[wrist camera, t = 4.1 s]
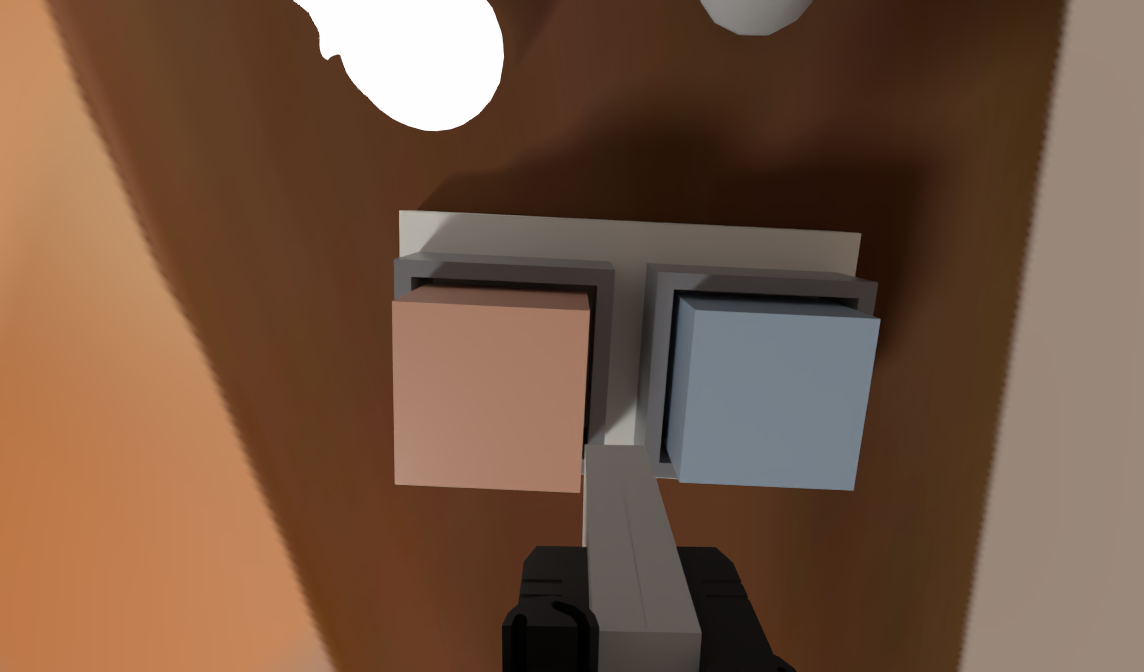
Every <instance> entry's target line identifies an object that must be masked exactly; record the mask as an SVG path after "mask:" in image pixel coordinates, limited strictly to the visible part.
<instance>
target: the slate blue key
mask: <svg viewBox="0 0 1144 672" xmlns="http://www.w3.org/2000/svg"><path fill="white" fill-rule="evenodd" d="M880 320H881V319H879V318H877V317H874V316H871V315H868V314H866V313H863V312H860V311H857V310H855V309H852V308H849V307H846V306H844V305H841V304H838V303H835V302H832V301H830V300H827V299H813V298H793V297H772V296H751V295H731V294H710V293H689V292H674V293H673V305H672V316H671V328H670V340H669V352H668V364H667V376H666V387H665V399H664V411H663V423H662V435H661V436H662V439H663V441H664V444H665V446H666V449H667V452H668V454H669V457H670V459H671V462H672V465H673V467H674V470H675V472H676V475H677V478H678V480H679V482H682V483H703V484H725V485H747V486H769V487H790V488H812V489H834V490H853V489H854V483H855V477H856V471H857V464H858V458H859V452H860V446H861V439H862V433H863V427H864V421H865V414H866V408H867V402H868V396H869V389H870V383H871V377H872V371H873V364H874V358H875V352H876V346H877V339H878V333H879V327H880Z"/></svg>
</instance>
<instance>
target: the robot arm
mask: <svg viewBox="0 0 1144 672" xmlns="http://www.w3.org/2000/svg"><path fill="white" fill-rule="evenodd" d="M502 666H503V672H796V670H795V669H794V668H793V667H792V666H790V665H789V664H788V663H786V662H785V661H784V660H782V659H781V658H780V657H778V656H776V655H774V654H773V652H772V650H771V648H770V645H769V643H768V641H767V639H766V636H765V634H764V632H763V630H762V627H761V625H760V623H759V620H758V618H757V616H756V614H755V611H754V609H753V607H752V605H751V602H750V600H748V596H747V593H746V591H745V589H744V587H743V585H741V580H740V578H739V575H738V573H737V571H736V569H735V566H734V564H733V563H732V562H731V561H730V560H729V559H728V558H727V557H726V556H725V555H724V554H722V553H721V552H720V551H719V550H718V549H717V548H716V547H676V545H675V542H674V538H673V535H672V532H671V528H670V525H669V521H668V518H667V515H666V511H665V508H664V505H663V501H662V498H661V495H660V491H659V488H658V485H657V481H656V478H655V474H654V471H653V468H652V464H651V461H650V458H649V454H648V451H647V448H646V445H592V444H585V460H584V503H583V547H562V546H536V548H535V549H534V550H533V551H532V552H531V554H530V555H529V556H528V557H527V558H526V560H525V561H524V566H523V573H522V582H521V587H520V595H519V601H518V605H517V606H516V607H514V608H513V609H512V610H511V611H510V612H509V613H508V614H507V616H506V618H505V620H504V623H503V625H502Z"/></svg>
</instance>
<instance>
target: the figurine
mask: <svg viewBox="0 0 1144 672" xmlns="http://www.w3.org/2000/svg"><path fill="white" fill-rule="evenodd" d="M294 2H296V3H298V4H299V5H300V6H301V7H303V8H304V9H305V10H306V11H308V12H309V13H310V16H311V18H312V20H313V22H314V24H315V25H316V26H317V28H318V31H319V34H320V51H321V54H322V56H323V57H324V58H326V59H327V60H328V59H329V58H330V57H331V56H333V55H336V54H339V55H341V58H342V61H343V64H344V67H345V69H346V71H347V74H348V76H349V77H350V78H351V80H352V81H353V83H354V84H355V85H356V86H357V87H358V88H359V89H360V90H361V91H362V92H363V94H365V95H366V96H368V97H369V99H370V100H371V101H372V102H373V103H374V104H375V105H376V106H377V107H378V108H379V109H380V110H382V111H383V112H384V113H386V114H387V115H389V116H390V117H391V118H393V119H395V120H397V121H399V122H401V123H403V124H406V125H408V126H411V127H414V128H418V129H421V130H430V131H439V130H446V129H452V128H455V127H457V126H460V125H463V124H464V123H466V122H467V121H469V120H470V119H472V118H473V117H475V116H476V115H478V114H479V113H480V112H481V110H482V109H483V108H484V107H485V106H486V105H487V104H488V102H489V101H490V100H491V98H492V96H493V94H494V92H495V90H496V88H497V87H498V85H499V83H500V78H501V71H502V65H503V59H504V53H503V42H502V33H501V30H500V28H499V25H498V22H497V19H496V16H495V13H494V11H493V9H492V7H491V6H490V4H489V3H488V2H487V0H294Z"/></svg>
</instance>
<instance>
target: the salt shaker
mask: <svg viewBox="0 0 1144 672" xmlns="http://www.w3.org/2000/svg"><path fill="white" fill-rule="evenodd" d="M813 1H814V0H700V2H701V3H702V5H703V6H704V8H705V9H706V11H707V12H708V14H709V15H710V17H711V18H712V20H713V21H714V23H716V24H718V25H720V26H722V27H724V28H726V29H728V30H730V31H732V32H734V33H736V34H738V35H760V36H767V35H770V34H772V33H774V32H776V31H778V30H780V29H781V28H783V27H785V26H787V25H789V24H791V23H793V22H795V21H796V20H798V18H799V17H800V16H801V15H802V14H803V12H804V11H805V10H806V9H807V8H808V7H809V5H810V4H811V3H812V2H813Z"/></svg>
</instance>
